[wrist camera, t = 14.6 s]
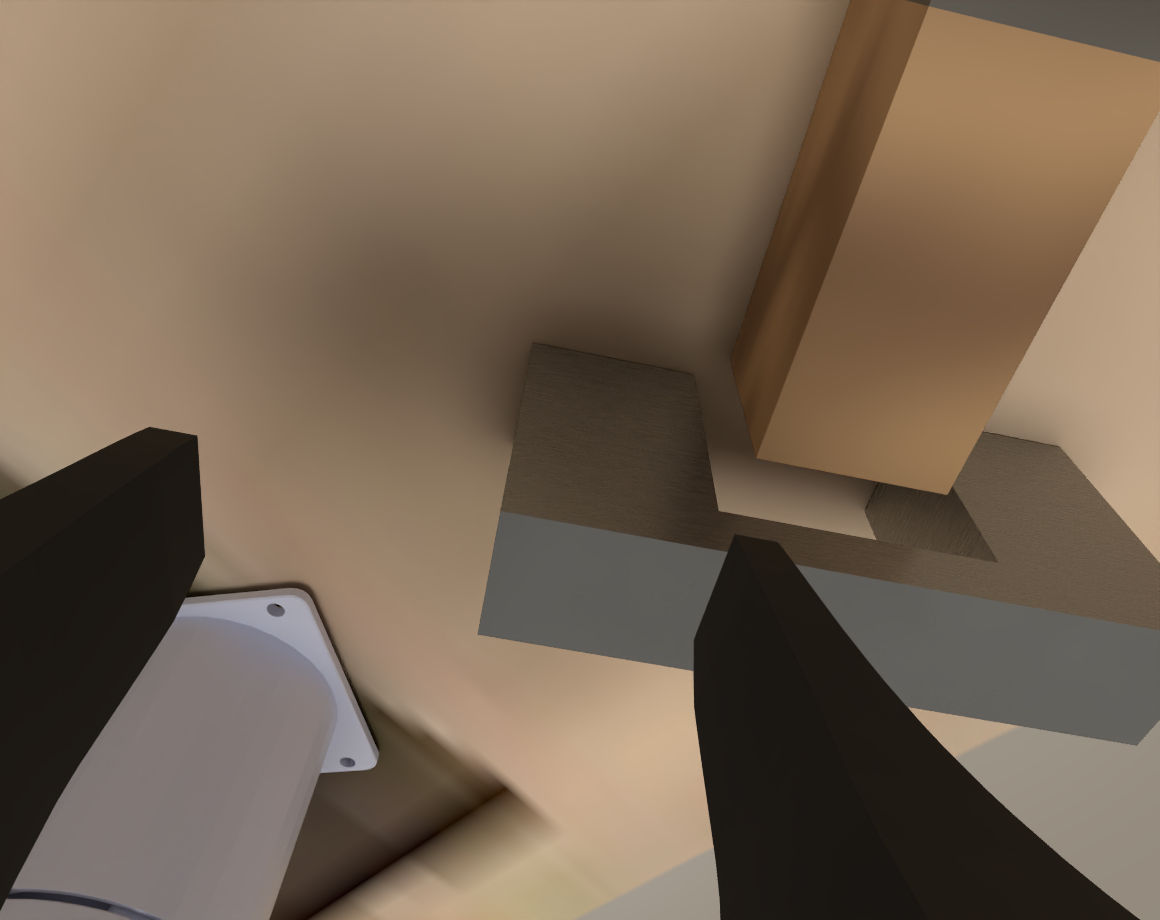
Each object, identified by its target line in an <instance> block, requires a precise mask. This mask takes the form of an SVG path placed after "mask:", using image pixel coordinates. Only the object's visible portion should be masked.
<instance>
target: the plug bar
mask: <svg viewBox="0 0 1160 920" xmlns="http://www.w3.org/2000/svg"><path fill="white" fill-rule="evenodd" d="M1159 110H1160V0H851V1H850V4H849V7H848V10H847V12H846V15H845V18H844V21H843V24H842V27H841V30H840V33H839V36H838V39H837V42H836V45H835V48H834V51H833V54H832V57H831V60H830V63H829V66H828V69H827V72H826V75H825V78H824V81H823V84H822V87H821V90H820V93H819V96H818V99H817V102H816V105H815V108H814V111H813V114H812V117H811V120H810V123H809V126H808V129H807V132H806V135H805V138H804V141H803V144H802V147H801V150H800V153H799V156H798V159H797V162H796V165H795V168H794V171H793V174H792V177H791V180H790V183H789V186H788V189H787V192H786V195H785V198H784V200H783V203H782V206H781V209H780V212H779V215H778V218H777V221H776V224H775V227H774V230H773V233H772V236H771V239H770V242H769V245H768V248H767V251H766V254H765V257H764V260H763V263H762V266H761V269H760V272H759V275H758V278H757V281H756V284H755V287H754V290H753V293H752V296H751V299H750V302H749V305H748V308H747V311H746V314H745V317H744V320H743V323H742V326H741V329H740V332H739V335H738V338H737V341H736V344H735V347H734V350H733V353H732V356H731V359H730V362H731V366H732V370H733V373H734V377H735V381H736V385H737V388H738V392H739V396H740V400H741V403H742V407H743V411H744V415H745V419H746V422H747V426H748V430H749V434H750V437H751V441H752V445H753V449H754V453H755V456H756V458H758V459H763V460H768V461H773V462H778V463H784V464H789V465H794V466H799V467H804V468H810V469H815V470H820V471H825V472H830V473H836V474H841V475H846V476H851V477H856V478H862V479H867V480H872V481H877V482H882V483H888V484H893V485H898V486H903V487H908V488H913V489H919V490H924V491H929V492H934V493H939V494H945V495H947V494H948V493H949V491H950V489H951V487H952V485H953V484H954V482H955V480H956V478H957V476H958V475H959V473H960V471H961V469H962V467H963V465H964V464H965V462H966V460H967V458H968V456H969V455H970V453H971V451H972V449H973V447H974V446H975V444H976V442H977V440H978V438H979V436H980V435H981V433H982V431H983V429H984V427H985V426H986V424H987V422H988V420H989V418H990V417H991V415H992V413H993V411H994V409H995V408H996V406H997V404H998V402H999V400H1000V398H1001V397H1002V395H1003V393H1004V391H1005V389H1006V388H1007V386H1008V384H1009V382H1010V380H1011V379H1012V377H1013V375H1014V373H1015V371H1016V369H1017V368H1018V366H1019V364H1020V362H1021V360H1022V359H1023V357H1024V355H1025V353H1026V351H1027V350H1028V348H1029V346H1030V344H1031V342H1032V340H1033V339H1034V337H1035V335H1036V333H1037V331H1038V330H1039V328H1040V326H1041V324H1042V322H1043V321H1044V319H1045V317H1046V315H1047V313H1048V311H1049V310H1050V308H1051V306H1052V304H1053V302H1054V301H1055V299H1056V297H1057V295H1058V293H1059V292H1060V290H1061V288H1062V286H1063V284H1064V282H1065V281H1066V279H1067V277H1068V275H1069V273H1070V272H1071V270H1072V268H1073V266H1074V264H1075V263H1076V261H1077V259H1078V257H1079V255H1080V254H1081V252H1082V250H1083V248H1084V246H1085V244H1086V243H1087V241H1088V239H1089V237H1090V235H1091V234H1092V232H1093V230H1094V228H1095V226H1096V225H1097V223H1098V221H1099V219H1100V217H1101V215H1102V214H1103V212H1104V210H1105V208H1106V206H1107V205H1108V203H1109V201H1110V199H1111V197H1112V196H1113V194H1114V192H1115V190H1116V188H1117V186H1118V185H1119V183H1120V181H1121V179H1122V177H1123V176H1124V174H1125V172H1126V170H1127V168H1128V167H1129V165H1130V163H1131V161H1132V159H1133V157H1134V156H1135V154H1136V152H1137V150H1138V148H1139V147H1140V145H1141V143H1142V141H1143V139H1144V138H1145V136H1146V134H1147V132H1148V130H1149V129H1150V127H1151V125H1152V123H1153V121H1154V119H1155V118H1156V116H1157V114H1158V112H1159Z"/></svg>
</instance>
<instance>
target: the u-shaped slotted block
mask: <svg viewBox="0 0 1160 920" xmlns="http://www.w3.org/2000/svg"><path fill="white" fill-rule="evenodd" d="M865 514H866V516H867V518H868V521H869V523H870V525H871V528H872V530H873V532H874V535H875V537H876V539H877V540H872V539H867V538H861V537H856V536H850V535H845V534H840V533H834V532H829V531H823V530H818V529H813V528H807V527H802V526H796V525H791V524H785V523H780V522H775V521H769V520H764V519H758V518H753V517H748V516H742V515H737V514H731V513H726V512H721V511H718V505H717V500H716V494H715V489H714V483H713V478H712V472H711V467H710V461H709V455H708V450H707V444H706V439H705V433H704V428H703V422H702V417H701V411H700V406H699V400H698V395H697V389H696V384H695V378H694V375H693V374H688V373H683V372H678V371H673V370H668V369H663V368H658V367H653V366H648V365H643V364H638V363H633V362H628V361H623V360H618V359H613V358H608V357H602V356H597V355H592V354H587V353H582V352H577V351H572V350H567V349H562V348H557V347H552V346H547V345H542V344H537V343H533V345H532V350H531V355H530V360H529V365H528V371H527V376H526V381H525V386H524V391H523V397H522V402H521V407H520V412H519V417H518V423H517V428H516V433H515V438H514V443H513V449H512V454H511V459H510V464H509V469H508V475H507V480H506V485H505V490H504V495H503V501H502V506H501V511H500V516H499V522H498V527H497V533H496V538H495V543H494V549H493V554H492V560H491V565H490V570H489V576H488V581H487V587H486V592H485V597H484V603H483V608H482V614H481V619H480V624H479V630H478V635H484V636H490V637H496V638H501V639H507V640H513V641H519V642H525V643H531V644H537V645H543V646H549V647H555V648H561V649H567V650H573V651H579V652H585V653H590V654H596V655H602V656H608V657H614V658H620V659H626V660H632V661H638V662H644V663H650V664H656V665H662V666H668V667H674V668H679V669H685V670H691V671H694V638H695V635H696V632H697V630H698V627H699V625H700V622H701V619H702V617H703V614H704V612H705V609H706V607H707V604H708V601H709V599H710V596H711V594H712V591H713V589H714V586H715V583H716V581H717V578H718V576H719V573H720V571H721V568H722V565H723V563H724V560H725V558H726V555H727V553H728V550H729V547H730V545H731V542H732V540H733V537H734V534H737V535H743V536H748V537H754V538H759V539H764V540H770V541H775V542H778V543H779V544H780V545H781V547H782V548H783V549H784V550H785V552H786V553H787V554H788V556H789V557H790V558H791V560H792V561H793V562H794V564H795V565H796V566H797V568H798V569H799V570H800V572H801V573H802V574H803V576H804V577H805V578H806V580H807V581H808V583H809V584H810V585H811V587H812V588H813V589H814V591H815V592H816V593H817V595H818V596H819V597H820V599H821V600H822V602H823V603H824V604H825V606H826V607H827V608H828V610H829V611H830V612H831V614H832V615H833V616H834V618H835V619H836V620H837V622H838V623H839V624H840V626H841V627H842V628H843V629H844V631H845V632H846V633H847V635H848V636H849V637H850V638H851V640H852V641H853V642H854V644H855V645H856V646H857V647H858V649H859V650H860V651H861V653H862V654H863V655H864V656H865V658H866V659H867V660H868V661H869V663H870V664H871V665H872V666H873V667H874V669H875V670H876V671H877V672H878V673H879V675H880V676H881V677H882V678H883V680H884V681H885V682H886V683H887V684H888V685H889V687H890V688H891V689H892V690H893V691H894V692H895V694H896V695H897V696H898V697H899V698H900V699H901V700H902V702H903V703H904V704H905V705H906V706H907V707H911V708H917V709H923V710H929V711H935V712H941V713H946V714H952V715H958V716H964V717H970V718H976V719H982V720H988V721H994V722H1000V723H1006V724H1012V725H1018V726H1024V727H1030V728H1036V729H1042V730H1047V731H1053V732H1059V733H1065V734H1071V735H1077V736H1083V737H1089V738H1095V739H1101V740H1107V741H1113V742H1119V743H1125V744H1131V745H1138V744H1139V742H1140V741H1141V740H1142V739H1143V738H1144V737H1145V736H1146V735H1147V733H1148V732H1149V731H1150V730H1151V729H1152V728H1153V727H1154V726H1155V725H1156V723H1157V722H1158V721H1159V720H1160V563H1159V562H1158V561H1157V559H1156V558H1155V557H1154V556H1153V555H1152V554H1151V552H1150V551H1149V550H1148V549H1147V548H1146V547H1145V545H1144V544H1143V543H1142V542H1141V541H1140V540H1139V538H1138V537H1137V536H1136V535H1135V534H1134V533H1133V531H1132V530H1131V529H1130V528H1129V527H1128V526H1127V524H1126V523H1125V522H1124V521H1123V520H1122V519H1121V518H1120V516H1119V515H1118V514H1117V513H1116V512H1115V511H1114V509H1113V508H1112V507H1111V506H1110V505H1109V504H1108V502H1107V501H1106V500H1105V499H1104V498H1103V497H1102V495H1101V494H1100V493H1099V492H1098V491H1097V490H1096V488H1095V487H1094V486H1093V485H1092V484H1091V483H1090V481H1089V480H1088V479H1087V478H1086V477H1085V476H1084V474H1083V473H1082V472H1081V471H1080V470H1079V469H1078V467H1077V466H1076V465H1075V464H1074V463H1073V462H1072V460H1071V459H1070V458H1069V457H1068V456H1067V455H1066V453H1065V452H1064V451H1063V450H1062V449H1061V448H1060V447H1056V446H1051V445H1046V444H1041V443H1036V442H1031V441H1026V440H1021V439H1016V438H1011V437H1006V436H1001V435H996V434H991V433H986V432H982V433H981V435H980V436H979V438H978V440H977V442H976V444H975V446H974V447H973V449H972V451H971V453H970V455H969V456H968V458H967V460H966V462H965V464H964V465H963V467H962V469H961V471H960V473H959V475H958V476H957V478H956V480H955V482H954V484H953V485H952V487H951V489H950V491H949V493H948V494H947V495H945V494H939V493H934V492H929V491H924V490H919V489H913V488H908V487H903V486H898V485H893V484H888V483H882V482H879V484H878V486H877V488H876V490H875V492H874V494H873V496H872V498H871V500H870V502H869V504H868V506H867V508H866V510H865Z"/></svg>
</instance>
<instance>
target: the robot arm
mask: <svg viewBox="0 0 1160 920" xmlns="http://www.w3.org/2000/svg"><path fill="white" fill-rule="evenodd" d="M204 557H205V549H204V533H203V517H202V501H201V486H200V470H199V454H198V439H197V436H196V435H191V434H185V433H180V432H174V431H169V430H163V429H158V428H153V427H148V428H146V429H144V430H141V431H139V432H137V433H134V434H132V435H130V436H128V437H126V438H124V439H122V440H119V441H117V442H115V443H113V444H111V445H109V446H107V447H105V448H103V449H101V450H99V451H97V452H95V453H93V454H91V455H89V456H87V457H85V458H83V459H81V460H79V461H77V462H75V463H73V464H71V465H69V466H67V467H65V468H63V469H61V470H59V471H57V472H55V473H53V474H51V475H49V476H47V477H45V478H43V479H41V480H39V481H37V482H35V483H33V484H31V485H29V486H27V487H25V488H23V489H21V490H19V491H17V492H15V493H13V494H10V495H8V496H6V497H4V498H2V499H0V920H269V919H270V916H271V913H272V910H273V907H274V904H275V901H276V899H277V896H278V893H279V890H280V887H281V884H282V881H283V878H284V875H285V873H286V870H287V867H288V864H289V861H290V858H291V855H292V852H293V849H294V847H295V844H296V841H297V838H298V835H299V832H300V829H301V826H302V823H303V821H304V818H305V815H306V812H307V809H308V806H309V803H310V800H311V797H312V795H313V792H314V789H315V786H316V783H317V780H318V777H319V774H320V773H327V772H342V771H356V770H367V769H371V768H373V767H374V766H375V765H376V763H377V760H378V757H379V752H378V750H377V747H376V745H375V743H374V740H373V738H372V736H371V734H370V731H369V729H368V727H367V724H366V722H365V720H364V717H363V715H362V713H361V711H360V708H359V706H358V704H357V701H356V699H355V697H354V695H353V692H352V690H351V688H350V685H349V683H348V681H347V678H346V676H345V674H344V672H343V669H342V667H341V665H340V662H339V660H338V658H337V656H336V653H335V651H334V649H333V646H332V644H331V642H330V639H329V637H328V635H327V633H326V630H325V628H324V626H323V623H322V621H321V619H320V617H319V614H318V612H317V610H316V607H315V605H314V603H313V600H312V599H311V597H310V596H309V594H307V593H306V592H305V591H303V590H300V589H297V588H284V589H274V590H263V591H253V592H242V593H232V594H221V595H211V596H200V597H190V598H186V596H187V594H188V592H189V590H190V588H191V585H192V583H193V581H194V579H195V577H196V574H197V572H198V570H199V568H200V566H201V564H202V561H203V559H204ZM274 604H278V605H280V606H282V607H283V608H282V607H277V606H275V605H274ZM694 709H695V717H696V725H697V732H698V740H699V747H700V754H701V762H702V769H703V776H704V782H705V789H706V796H707V803H708V810H709V817H710V824H711V831H712V838H713V845H714V852H715V859H716V867H717V877H718V886H719V896H720V918H721V920H1140V919H1138V918H1137V917H1136V916H1134V915H1133V914H1132V913H1131V912H1129V911H1128V910H1126V909H1125V908H1124V907H1123V906H1121V905H1120V904H1119V903H1118V902H1116V901H1115V900H1113V899H1112V898H1111V897H1110V896H1109V895H1107V894H1106V893H1105V892H1103V891H1102V890H1101V889H1100V888H1098V887H1097V886H1096V885H1095V884H1094V883H1092V882H1091V881H1090V880H1089V879H1088V878H1086V877H1085V876H1084V875H1083V874H1081V873H1080V872H1079V871H1078V870H1077V869H1075V868H1074V867H1073V866H1072V865H1070V864H1069V863H1068V862H1067V861H1065V860H1064V859H1063V858H1062V857H1061V856H1060V855H1059V854H1058V853H1056V852H1055V851H1054V850H1053V849H1052V848H1050V846H1049V845H1047V844H1046V843H1045V842H1044V841H1043V840H1041V838H1039V837H1038V836H1037V835H1036V834H1035V833H1034V832H1033V831H1031V830H1030V829H1029V828H1028V827H1027V826H1026V825H1025V824H1023V823H1022V822H1021V821H1020V820H1019V819H1018V818H1017V817H1015V816H1014V815H1013V814H1012V813H1011V812H1010V811H1009V810H1008V809H1006V808H1005V806H1003V805H1002V804H1001V803H1000V802H999V801H998V800H997V799H996V798H995V797H994V796H993V795H992V794H991V793H990V792H988V791H987V790H986V789H985V788H984V787H983V786H982V785H981V784H980V783H979V782H978V781H977V780H976V779H975V778H974V777H973V776H972V775H971V774H970V773H969V772H968V771H967V770H966V769H965V768H964V767H963V766H962V765H961V764H960V763H959V762H958V761H957V760H956V759H955V758H954V757H953V756H952V755H951V754H950V753H949V752H948V751H947V750H946V749H945V748H944V747H943V746H942V745H941V744H940V743H939V741H938V740H937V739H936V738H935V737H934V736H933V735H932V734H931V733H930V732H929V731H928V730H927V729H926V728H925V727H924V725H923V724H922V723H921V722H920V721H919V720H918V719H917V718H916V716H915V715H914V714H913V713H912V712H911V711H910V710H909V708H908V707H907V706H906V705H905V704H904V703H903V702H902V700H901V699H900V698H899V697H898V696H897V695H896V694H895V692H894V691H893V690H892V689H891V688H890V687H889V685H888V684H887V683H886V682H885V681H884V680H883V678H882V677H881V676H880V675H879V673H878V672H877V671H876V670H875V669H874V667H873V666H872V665H871V664H870V663H869V661H868V660H867V659H866V658H865V656H864V655H863V654H862V653H861V651H860V650H859V649H858V647H857V646H856V645H855V644H854V642H853V641H852V640H851V638H850V637H849V636H848V635H847V633H846V632H845V631H844V629H843V628H842V627H841V626H840V624H839V623H838V622H837V620H836V619H835V618H834V616H833V615H832V614H831V612H830V611H829V610H828V608H827V607H826V606H825V604H824V603H823V602H822V600H821V599H820V597H819V596H818V595H817V593H816V592H815V591H814V589H813V588H812V587H811V585H810V584H809V583H808V581H807V580H806V578H805V577H804V576H803V574H802V573H801V572H800V570H799V569H798V568H797V566H796V565H795V564H794V562H793V561H792V560H791V558H790V557H789V556H788V554H787V553H786V552H785V550H784V549H783V548H782V547H781V545H780V544H779V543H778V542H775V541H770V540H764V539H759V538H754V537H748V536H743V535H737V534H734V537H733V540H732V542H731V545H730V547H729V550H728V553H727V555H726V558H725V560H724V563H723V565H722V568H721V571H720V573H719V576H718V578H717V581H716V583H715V586H714V589H713V591H712V594H711V596H710V599H709V601H708V604H707V607H706V609H705V612H704V614H703V617H702V619H701V622H700V625H699V627H698V630H697V632H696V635H695V638H694Z"/></svg>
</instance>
